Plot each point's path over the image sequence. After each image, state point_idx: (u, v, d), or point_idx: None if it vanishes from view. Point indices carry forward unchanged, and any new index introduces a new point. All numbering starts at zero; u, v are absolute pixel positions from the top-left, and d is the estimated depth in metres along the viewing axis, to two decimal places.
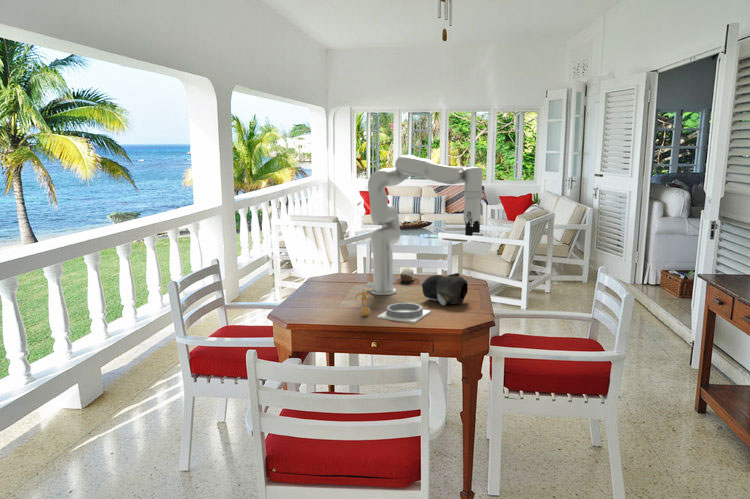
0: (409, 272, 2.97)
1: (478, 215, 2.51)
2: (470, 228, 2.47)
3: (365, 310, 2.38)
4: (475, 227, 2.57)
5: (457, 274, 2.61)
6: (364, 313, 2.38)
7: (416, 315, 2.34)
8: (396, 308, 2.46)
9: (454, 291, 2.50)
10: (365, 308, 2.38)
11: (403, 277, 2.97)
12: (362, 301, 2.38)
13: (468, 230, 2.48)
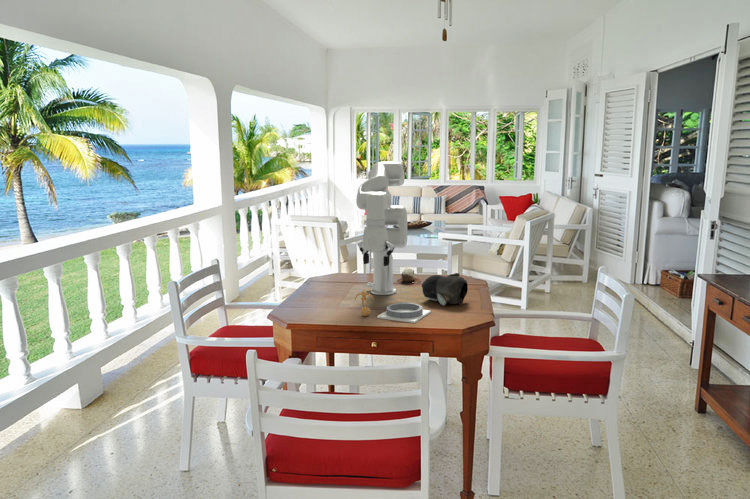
0: (410, 272, 2.97)
1: None
2: None
3: (365, 310, 2.38)
4: (366, 258, 2.39)
5: (457, 274, 2.61)
6: (364, 313, 2.38)
7: (416, 315, 2.34)
8: (396, 308, 2.46)
9: (454, 291, 2.50)
10: (365, 308, 2.38)
11: (404, 277, 2.97)
12: (362, 301, 2.38)
13: (388, 260, 2.34)
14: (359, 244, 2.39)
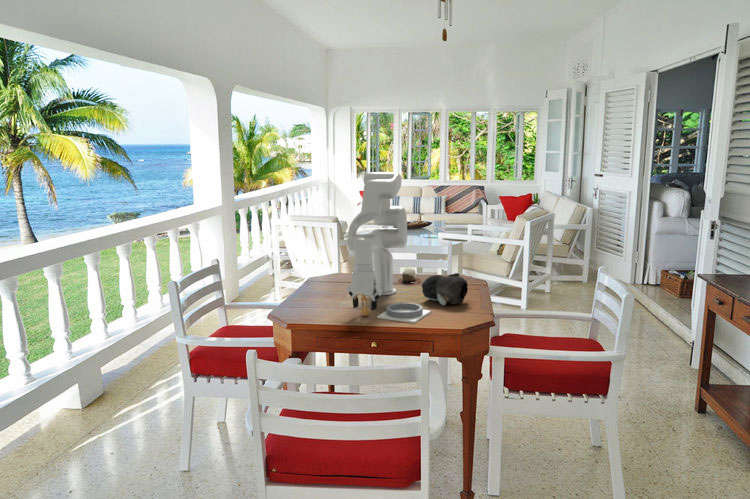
0: (411, 272, 2.98)
1: None
2: None
3: (365, 310, 2.38)
4: (356, 302, 2.40)
5: (457, 274, 2.61)
6: (364, 313, 2.38)
7: (416, 315, 2.34)
8: (396, 308, 2.46)
9: (454, 291, 2.50)
10: (365, 308, 2.38)
11: (405, 277, 2.97)
12: (362, 301, 2.38)
13: (376, 304, 2.36)
14: (348, 288, 2.40)
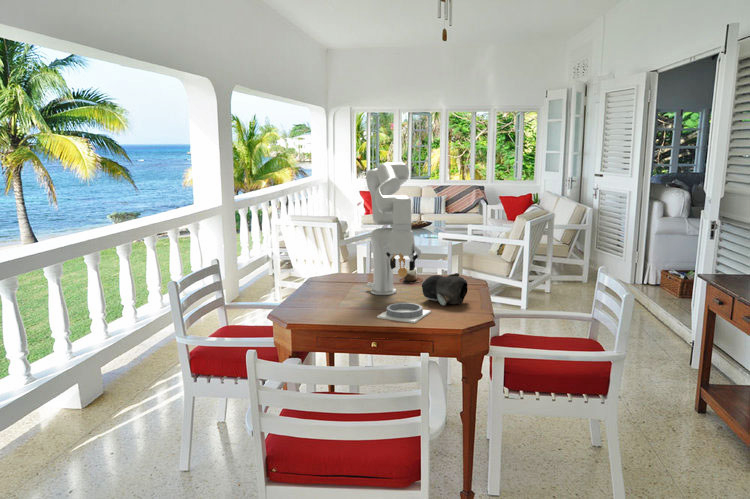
0: (412, 271, 2.98)
1: None
2: None
3: (402, 271, 2.37)
4: (393, 262, 2.38)
5: (457, 274, 2.61)
6: (402, 274, 2.37)
7: (416, 315, 2.34)
8: (396, 308, 2.46)
9: (454, 291, 2.50)
10: (402, 269, 2.37)
11: (406, 276, 2.98)
12: (399, 262, 2.36)
13: (414, 264, 2.34)
14: (385, 249, 2.39)
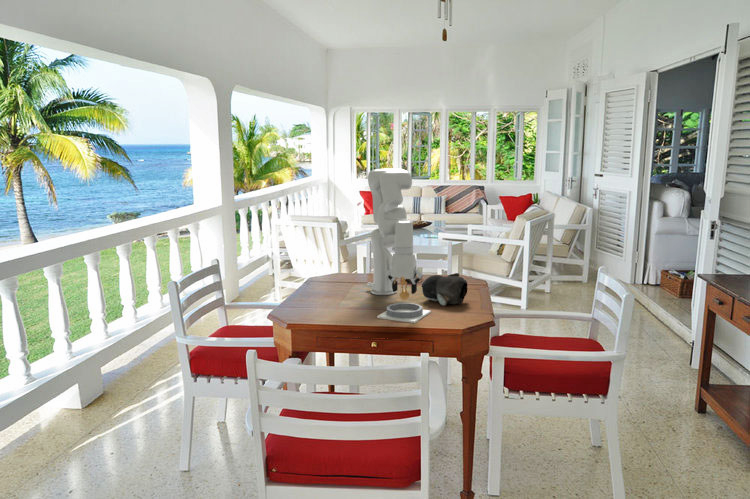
0: None
1: None
2: None
3: (404, 294, 2.38)
4: (395, 285, 2.40)
5: (457, 274, 2.61)
6: (404, 297, 2.38)
7: (416, 315, 2.34)
8: (396, 308, 2.46)
9: (454, 291, 2.50)
10: (404, 292, 2.39)
11: None
12: (401, 285, 2.38)
13: (415, 287, 2.36)
14: (387, 272, 2.40)
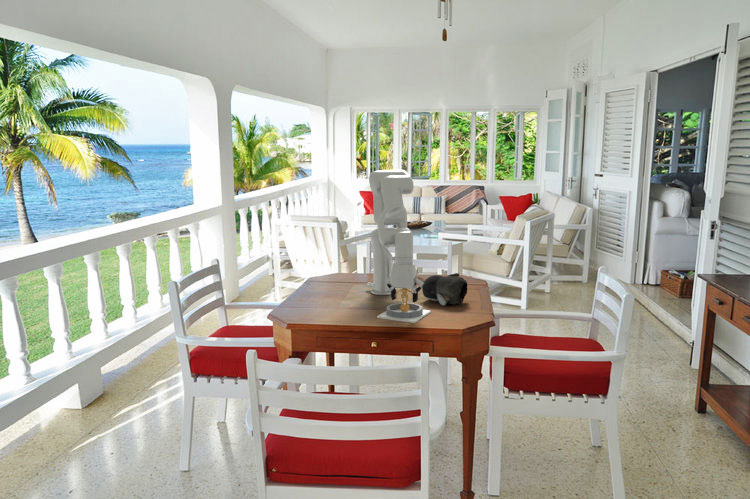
0: None
1: None
2: None
3: (405, 307, 2.39)
4: (394, 294, 2.41)
5: (457, 274, 2.61)
6: (404, 310, 2.39)
7: (416, 315, 2.34)
8: (396, 308, 2.46)
9: (454, 291, 2.50)
10: (405, 305, 2.40)
11: None
12: (402, 298, 2.39)
13: (417, 296, 2.36)
14: (386, 280, 2.41)
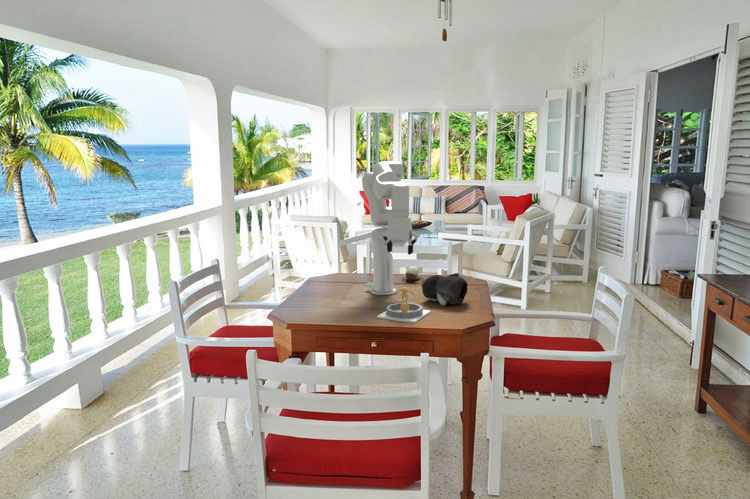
0: (414, 271, 3.00)
1: None
2: None
3: (405, 306, 2.39)
4: (390, 246, 2.47)
5: (457, 274, 2.61)
6: (404, 309, 2.39)
7: (416, 315, 2.34)
8: (396, 308, 2.46)
9: (454, 291, 2.50)
10: (405, 305, 2.40)
11: (408, 276, 3.00)
12: (402, 298, 2.39)
13: (412, 248, 2.42)
14: (383, 233, 2.47)
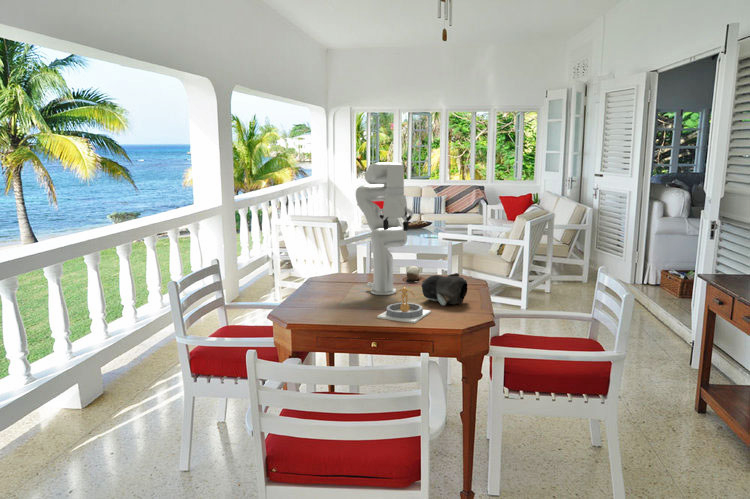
0: (415, 271, 3.00)
1: None
2: None
3: (405, 306, 2.39)
4: (386, 224, 2.57)
5: (457, 274, 2.61)
6: (404, 309, 2.39)
7: (416, 315, 2.34)
8: (396, 308, 2.46)
9: (454, 291, 2.50)
10: (405, 305, 2.40)
11: (409, 276, 3.00)
12: (402, 298, 2.39)
13: (407, 225, 2.52)
14: (379, 211, 2.57)
